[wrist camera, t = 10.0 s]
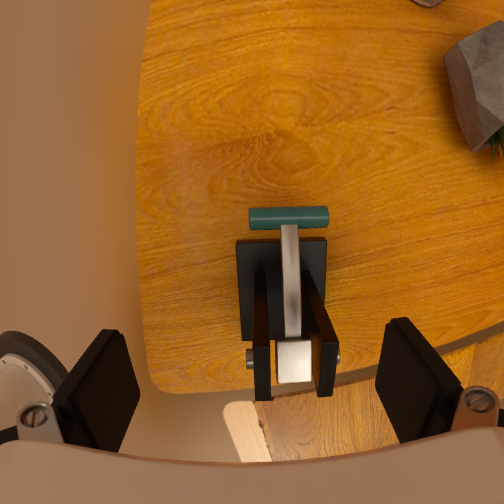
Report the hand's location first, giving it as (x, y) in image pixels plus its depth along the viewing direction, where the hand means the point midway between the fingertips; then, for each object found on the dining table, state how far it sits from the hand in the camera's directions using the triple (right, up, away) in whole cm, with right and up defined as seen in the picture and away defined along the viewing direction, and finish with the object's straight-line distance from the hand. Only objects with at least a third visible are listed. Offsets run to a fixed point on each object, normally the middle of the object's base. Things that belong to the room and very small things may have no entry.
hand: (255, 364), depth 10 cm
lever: (+2, +1, +11) cm, 11 cm away
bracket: (+3, 0, +20) cm, 20 cm away
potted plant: (+24, +19, +14) cm, 34 cm away
